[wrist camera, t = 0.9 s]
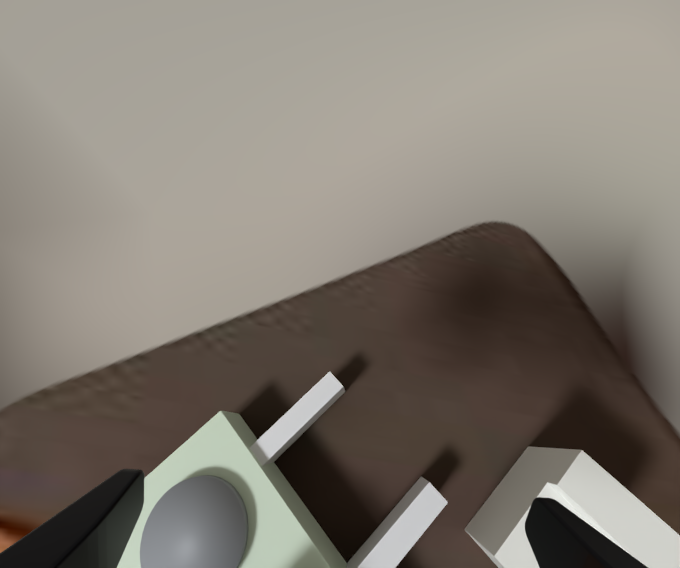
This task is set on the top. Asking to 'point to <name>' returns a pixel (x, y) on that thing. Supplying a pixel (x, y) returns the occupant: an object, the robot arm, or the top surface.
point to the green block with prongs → (257, 503)
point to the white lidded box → (580, 498)
